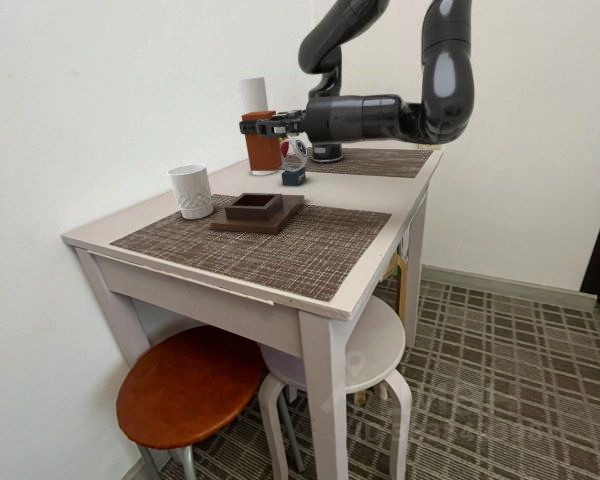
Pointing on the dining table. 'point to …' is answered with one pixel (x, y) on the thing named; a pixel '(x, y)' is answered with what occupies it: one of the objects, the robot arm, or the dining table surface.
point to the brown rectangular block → (262, 146)
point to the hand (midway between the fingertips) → (246, 125)
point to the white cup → (191, 190)
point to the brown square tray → (258, 213)
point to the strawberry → (284, 146)
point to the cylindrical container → (253, 101)
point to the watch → (294, 174)
